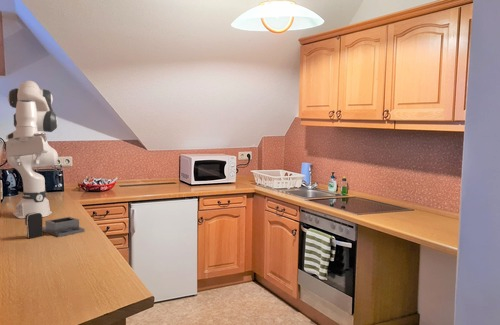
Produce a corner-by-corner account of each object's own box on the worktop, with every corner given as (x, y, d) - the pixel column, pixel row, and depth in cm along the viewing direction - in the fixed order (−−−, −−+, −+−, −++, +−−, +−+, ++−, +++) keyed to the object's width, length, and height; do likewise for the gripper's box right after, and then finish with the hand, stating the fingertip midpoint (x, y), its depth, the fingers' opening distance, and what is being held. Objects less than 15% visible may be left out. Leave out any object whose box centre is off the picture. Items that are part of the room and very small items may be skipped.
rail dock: (40, 230, 220) (40, 219, 220) (65, 225, 230) (65, 215, 230) (59, 236, 209) (58, 225, 208) (84, 231, 219) (84, 220, 218)
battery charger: (39, 234, 213) (38, 211, 212) (43, 235, 211) (42, 212, 209) (24, 237, 207) (23, 213, 206) (29, 239, 205) (28, 214, 204)
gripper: (51, 133, 202) (52, 163, 200) (13, 138, 207) (14, 167, 205) (41, 130, 196) (42, 162, 194) (3, 136, 201) (3, 166, 199)
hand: (27, 164), depth 200 cm, fingers open, 8 cm apart
